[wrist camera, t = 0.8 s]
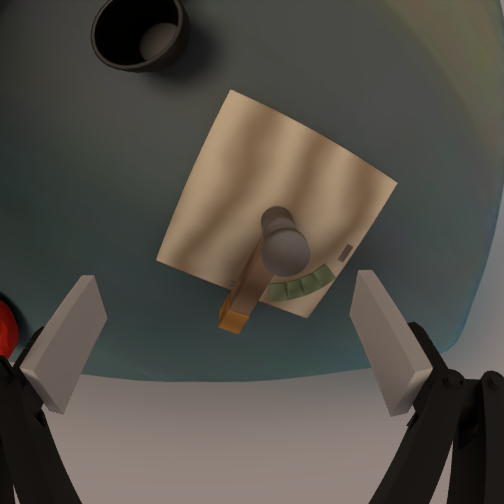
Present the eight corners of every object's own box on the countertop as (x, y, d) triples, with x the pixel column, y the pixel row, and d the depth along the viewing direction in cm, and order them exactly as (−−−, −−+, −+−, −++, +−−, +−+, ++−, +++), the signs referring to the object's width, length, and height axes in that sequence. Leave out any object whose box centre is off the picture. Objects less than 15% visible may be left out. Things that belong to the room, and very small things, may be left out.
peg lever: (268, 196, 34) (276, 226, 26) (302, 212, 35) (319, 245, 27) (214, 298, 40) (209, 343, 32) (244, 310, 41) (245, 355, 33)
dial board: (158, 255, 38) (155, 260, 37) (230, 90, 29) (230, 89, 28) (305, 313, 43) (307, 319, 42) (393, 180, 35) (398, 183, 33)
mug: (212, -15, 23) (203, -51, 15) (191, 79, 29) (173, 71, 20) (141, -16, 22) (112, -45, 14) (121, 76, 28) (82, 71, 19)
